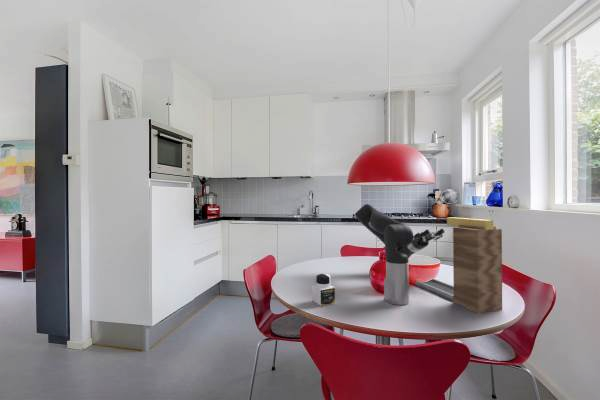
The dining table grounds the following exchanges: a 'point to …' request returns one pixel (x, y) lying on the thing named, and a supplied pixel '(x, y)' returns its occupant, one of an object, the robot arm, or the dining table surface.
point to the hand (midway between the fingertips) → (436, 230)
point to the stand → (477, 268)
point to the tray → (438, 288)
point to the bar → (470, 222)
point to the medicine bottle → (323, 290)
